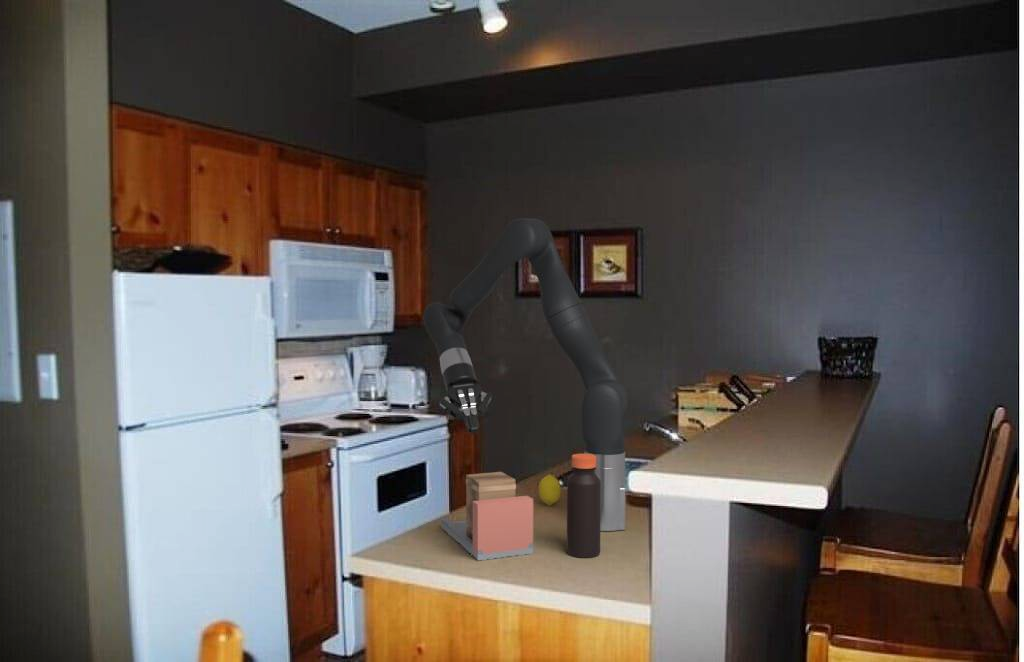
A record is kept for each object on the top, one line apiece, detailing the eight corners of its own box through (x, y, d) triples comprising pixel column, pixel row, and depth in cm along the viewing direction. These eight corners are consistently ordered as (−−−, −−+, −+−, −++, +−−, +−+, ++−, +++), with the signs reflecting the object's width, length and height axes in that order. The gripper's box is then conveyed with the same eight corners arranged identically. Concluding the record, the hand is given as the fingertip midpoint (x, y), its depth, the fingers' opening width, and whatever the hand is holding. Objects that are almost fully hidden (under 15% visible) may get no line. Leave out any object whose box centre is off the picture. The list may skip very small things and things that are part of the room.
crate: (465, 535, 165) (465, 474, 165) (501, 530, 168) (501, 471, 168) (478, 546, 158) (478, 482, 157) (515, 541, 161) (516, 479, 160)
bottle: (565, 557, 155) (566, 458, 154) (568, 547, 162) (568, 452, 161) (599, 559, 154) (600, 459, 153) (600, 548, 161) (601, 453, 160)
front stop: (472, 550, 156) (472, 501, 155) (527, 543, 160) (527, 495, 160) (477, 554, 153) (477, 504, 152) (533, 547, 157) (533, 499, 157)
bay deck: (441, 528, 175) (441, 518, 175) (490, 522, 180) (490, 513, 180) (477, 561, 153) (477, 550, 153) (533, 553, 157) (533, 542, 157)
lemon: (558, 509, 191) (558, 477, 191) (536, 508, 193) (536, 476, 192) (561, 503, 197) (561, 472, 197) (540, 502, 198) (540, 471, 198)
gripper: (432, 365, 181) (447, 427, 171) (486, 358, 185) (504, 419, 175) (429, 383, 187) (444, 444, 177) (482, 376, 191) (499, 436, 181)
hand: (474, 431), depth 176 cm, fingers closed
